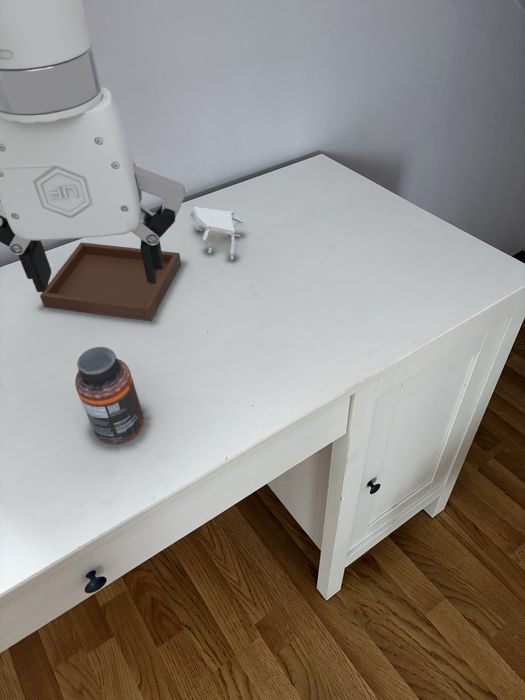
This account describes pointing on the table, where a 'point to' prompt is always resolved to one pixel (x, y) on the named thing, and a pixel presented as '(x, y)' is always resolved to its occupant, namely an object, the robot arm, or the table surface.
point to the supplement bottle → (108, 396)
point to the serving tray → (110, 282)
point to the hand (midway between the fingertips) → (99, 278)
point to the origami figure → (216, 223)
